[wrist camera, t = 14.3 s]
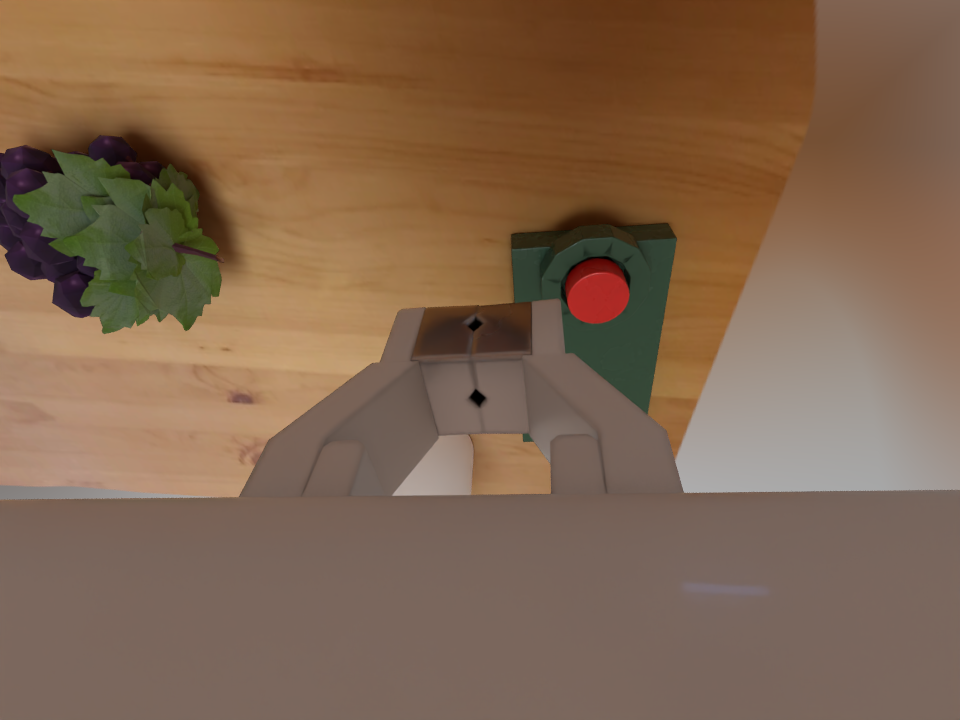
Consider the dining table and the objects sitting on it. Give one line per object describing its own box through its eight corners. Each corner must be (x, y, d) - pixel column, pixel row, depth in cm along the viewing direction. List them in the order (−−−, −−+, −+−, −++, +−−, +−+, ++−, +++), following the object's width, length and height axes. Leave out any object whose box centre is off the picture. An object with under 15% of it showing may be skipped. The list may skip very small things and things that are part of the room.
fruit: (59, 115, 32) (259, 146, 29) (106, 270, 37) (279, 310, 34) (-158, 124, 23) (95, 169, 20) (-57, 325, 29) (156, 384, 26)
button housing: (509, 215, 32) (510, 243, 29) (671, 203, 31) (689, 232, 28) (522, 423, 44) (523, 458, 41) (638, 419, 43) (648, 455, 40)
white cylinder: (341, 399, 43) (295, 522, 34) (475, 406, 43) (466, 532, 34) (358, 482, 50) (324, 601, 41) (472, 488, 50) (464, 610, 41)
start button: (565, 259, 30) (567, 274, 28) (627, 255, 29) (632, 270, 28) (564, 309, 32) (567, 325, 30) (621, 306, 31) (626, 322, 30)
